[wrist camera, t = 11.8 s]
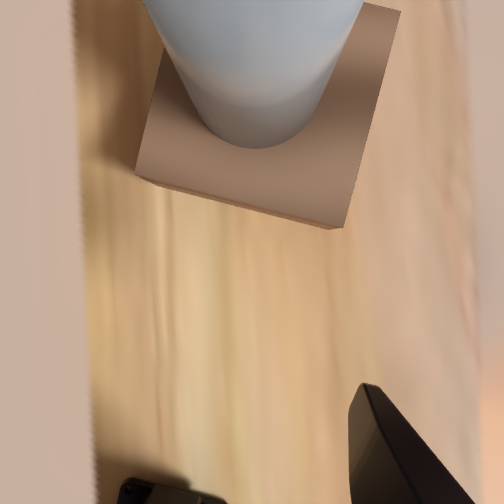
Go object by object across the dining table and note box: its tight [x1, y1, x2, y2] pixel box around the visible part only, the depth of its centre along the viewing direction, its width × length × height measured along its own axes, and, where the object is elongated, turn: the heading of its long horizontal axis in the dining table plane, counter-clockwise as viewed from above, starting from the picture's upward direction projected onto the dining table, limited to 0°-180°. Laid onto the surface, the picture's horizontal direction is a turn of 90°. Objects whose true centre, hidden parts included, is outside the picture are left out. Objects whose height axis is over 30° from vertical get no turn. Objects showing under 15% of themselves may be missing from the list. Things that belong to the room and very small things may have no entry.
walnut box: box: [134, 2, 401, 230], centre depth 19 cm, size 10×10×4 cm
